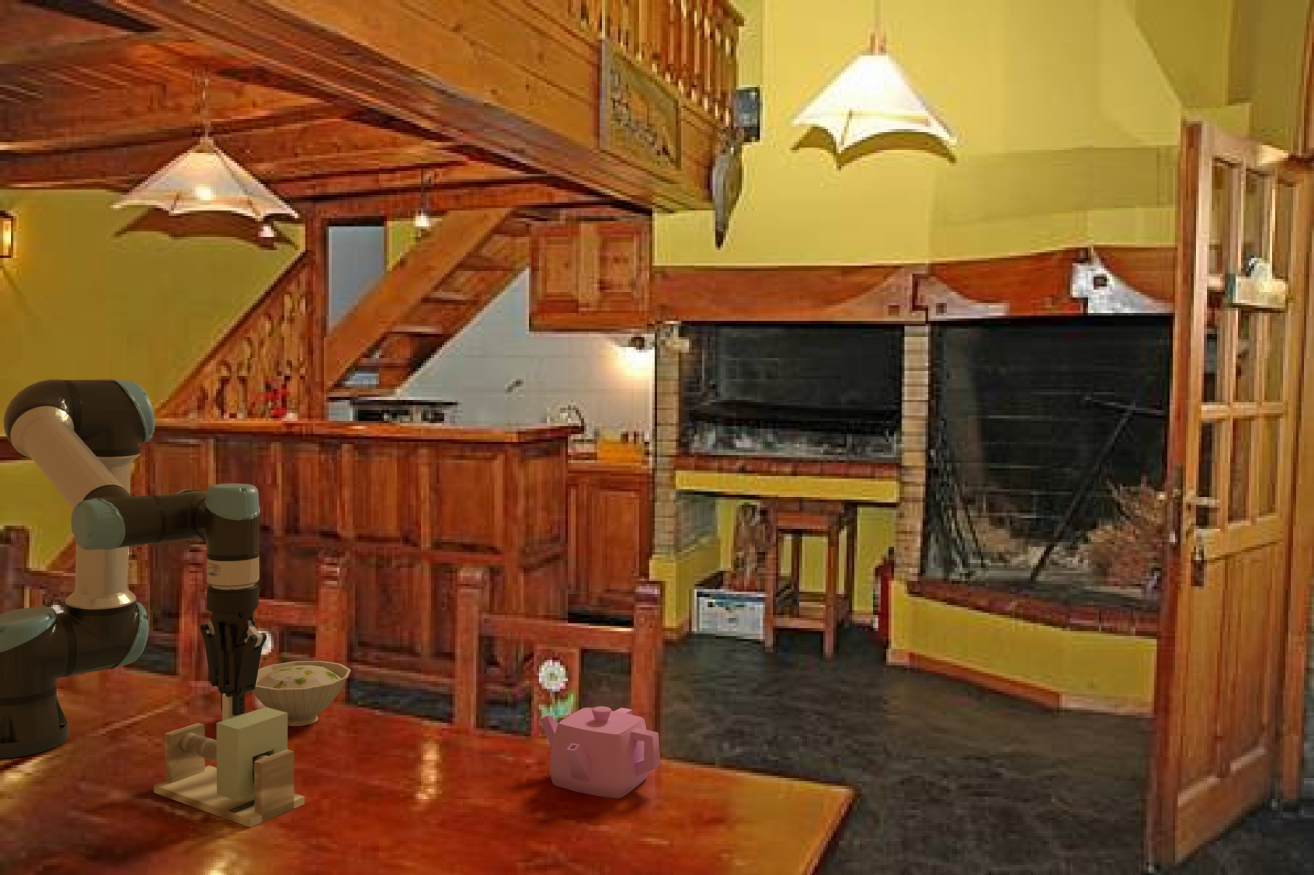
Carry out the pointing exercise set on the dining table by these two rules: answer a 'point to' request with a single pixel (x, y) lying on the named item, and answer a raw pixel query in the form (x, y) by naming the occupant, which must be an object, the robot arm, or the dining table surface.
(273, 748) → the square sliding block
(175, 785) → the rail stand
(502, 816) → the dining table surface
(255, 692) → the bowl
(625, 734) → the teakettle
